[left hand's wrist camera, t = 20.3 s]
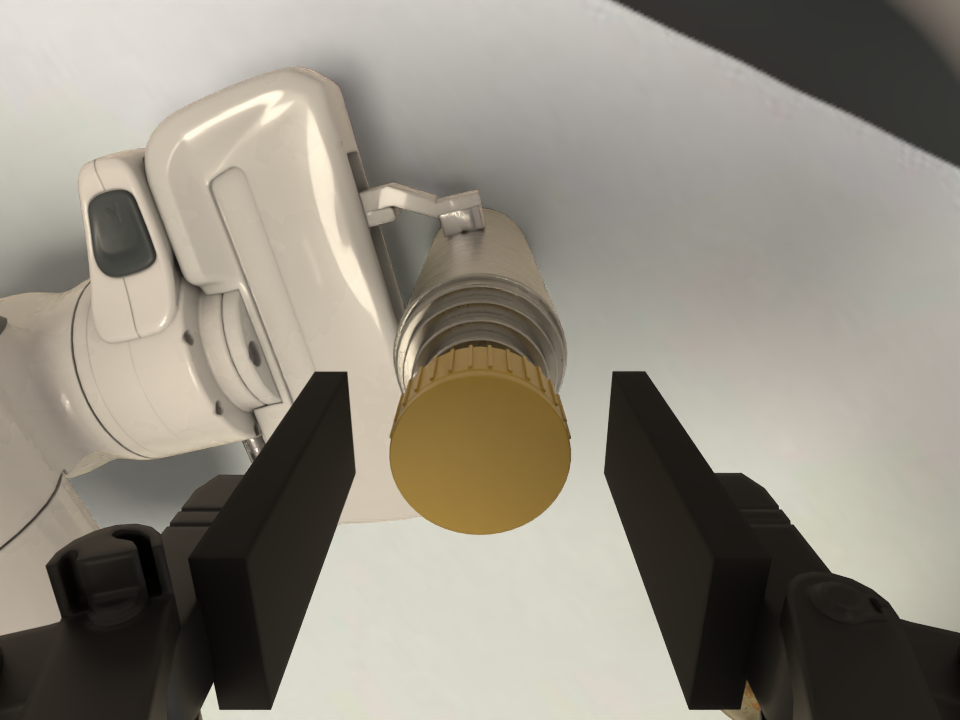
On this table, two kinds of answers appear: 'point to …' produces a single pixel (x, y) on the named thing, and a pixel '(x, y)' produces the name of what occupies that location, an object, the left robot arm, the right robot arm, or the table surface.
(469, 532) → the cap
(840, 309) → the table surface
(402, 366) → the bottle
